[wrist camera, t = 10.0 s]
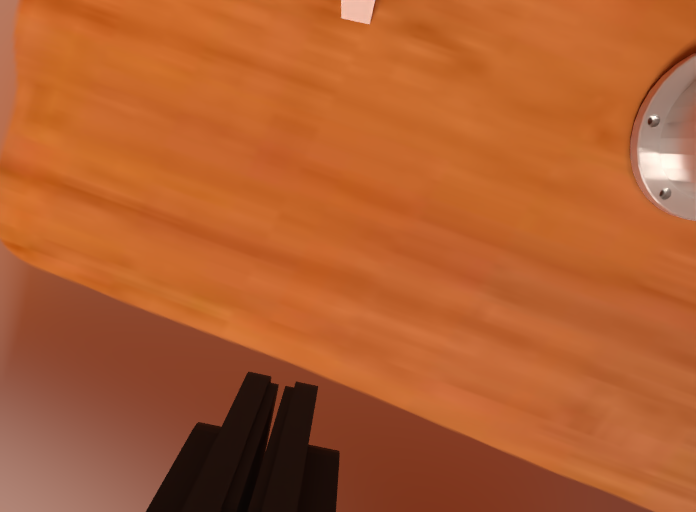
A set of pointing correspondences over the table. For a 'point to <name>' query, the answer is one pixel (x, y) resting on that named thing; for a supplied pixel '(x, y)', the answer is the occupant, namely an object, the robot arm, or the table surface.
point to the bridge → (357, 10)
